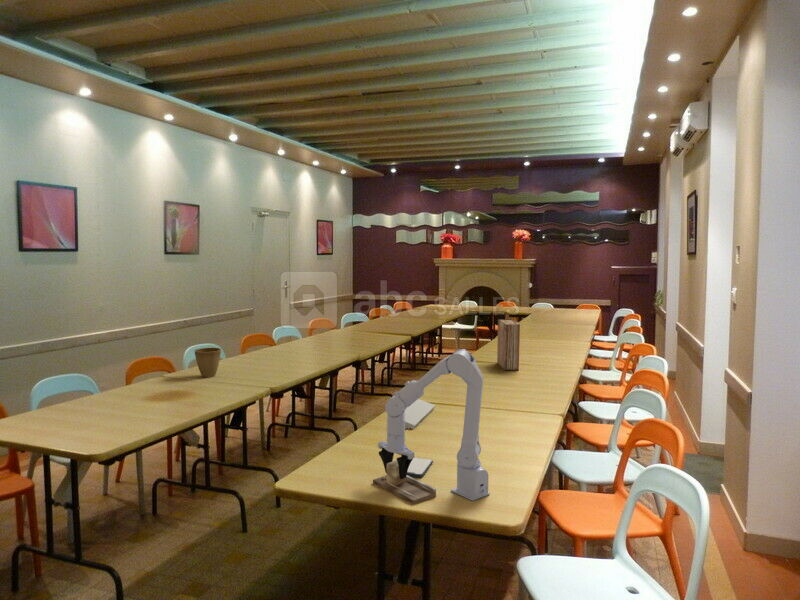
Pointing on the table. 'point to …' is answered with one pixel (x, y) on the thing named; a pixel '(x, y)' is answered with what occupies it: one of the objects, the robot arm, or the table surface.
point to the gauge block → (394, 474)
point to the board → (408, 489)
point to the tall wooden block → (508, 344)
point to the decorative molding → (417, 413)
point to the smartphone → (419, 467)
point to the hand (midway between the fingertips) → (395, 475)
